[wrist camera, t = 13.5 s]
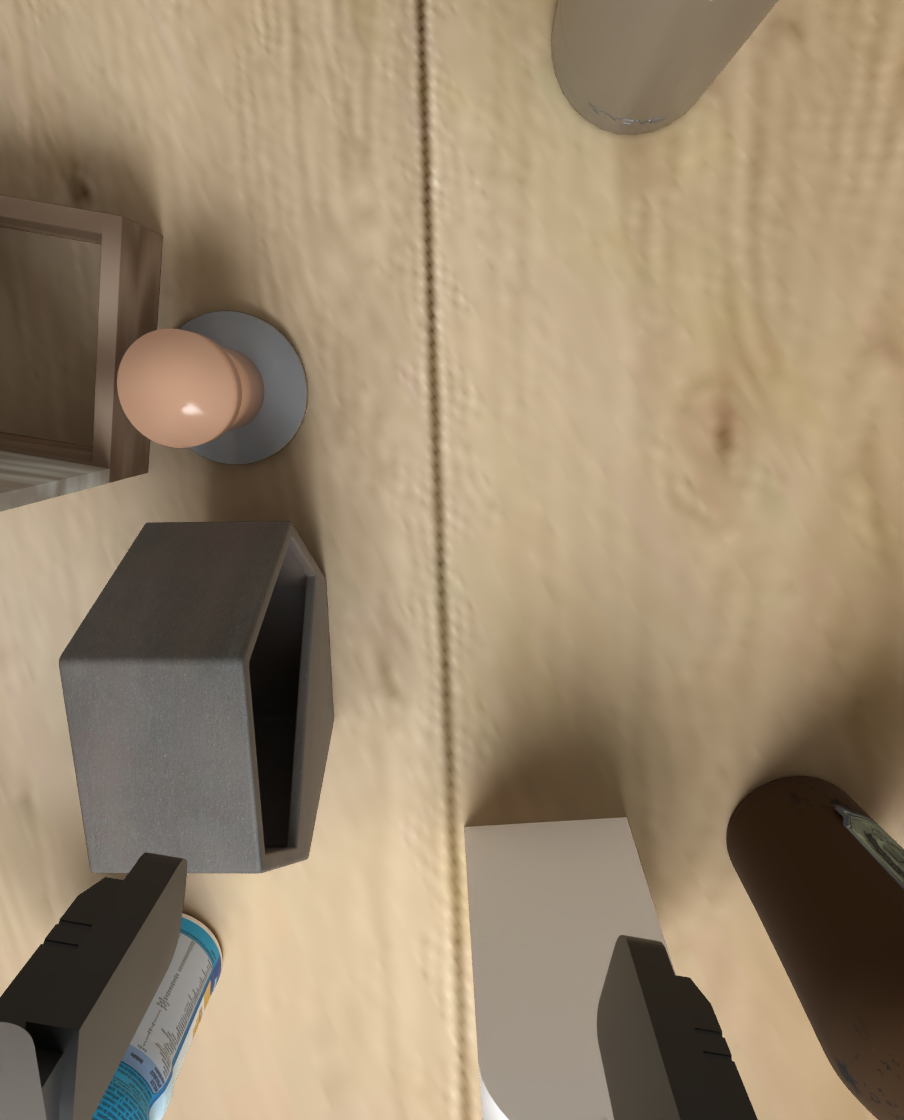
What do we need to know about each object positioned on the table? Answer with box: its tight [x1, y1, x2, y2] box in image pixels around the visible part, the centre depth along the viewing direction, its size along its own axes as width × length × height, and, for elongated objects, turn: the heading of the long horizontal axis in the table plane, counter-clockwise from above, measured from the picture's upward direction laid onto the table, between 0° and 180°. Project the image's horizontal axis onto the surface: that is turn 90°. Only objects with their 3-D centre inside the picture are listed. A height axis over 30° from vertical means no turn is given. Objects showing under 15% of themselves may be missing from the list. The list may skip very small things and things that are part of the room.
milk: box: [464, 817, 675, 1120], centre depth 39 cm, size 12×12×26 cm
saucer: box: [179, 311, 308, 464], centre depth 43 cm, size 9×9×1 cm
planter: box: [59, 522, 334, 873], centre depth 39 cm, size 17×8×21 cm
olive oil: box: [727, 777, 904, 1120], centre depth 38 cm, size 11×11×25 cm
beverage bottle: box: [91, 913, 222, 1120], centre depth 43 cm, size 8×8×20 cm
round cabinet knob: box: [117, 328, 264, 448], centre depth 39 cm, size 6×6×8 cm
